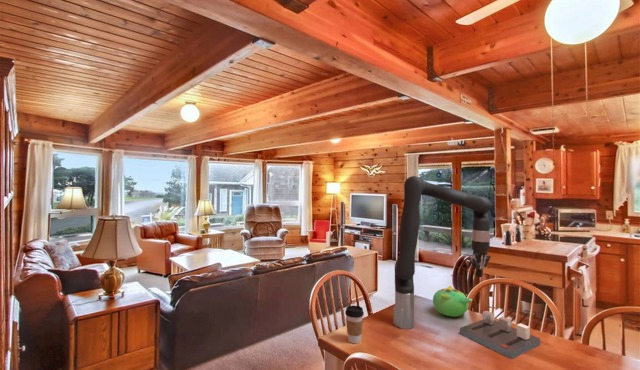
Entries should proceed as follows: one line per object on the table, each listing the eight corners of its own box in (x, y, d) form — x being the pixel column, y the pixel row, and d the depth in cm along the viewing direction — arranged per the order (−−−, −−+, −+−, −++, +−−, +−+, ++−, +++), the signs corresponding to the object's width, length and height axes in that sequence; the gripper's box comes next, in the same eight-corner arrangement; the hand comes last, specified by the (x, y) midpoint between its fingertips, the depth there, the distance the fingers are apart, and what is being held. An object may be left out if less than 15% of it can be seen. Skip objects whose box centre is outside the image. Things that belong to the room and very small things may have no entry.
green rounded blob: (462, 309, 176) (462, 283, 176) (474, 323, 160) (474, 294, 159) (429, 308, 178) (429, 282, 178) (437, 321, 161) (437, 293, 161)
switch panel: (511, 359, 127) (512, 338, 127) (459, 334, 148) (460, 316, 148) (540, 345, 138) (540, 326, 138) (488, 323, 159) (488, 307, 159)
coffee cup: (341, 340, 142) (341, 308, 142) (352, 334, 148) (352, 302, 148) (356, 347, 136) (356, 313, 136) (367, 340, 143) (367, 307, 142)
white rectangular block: (526, 339, 136) (526, 328, 136) (516, 335, 140) (516, 324, 139) (529, 338, 138) (529, 326, 137) (520, 334, 141) (520, 323, 141)
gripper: (481, 237, 152) (480, 272, 152) (464, 239, 145) (462, 276, 145) (497, 240, 145) (495, 277, 145) (479, 242, 139) (477, 281, 139)
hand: (479, 276), depth 145 cm, fingers closed
